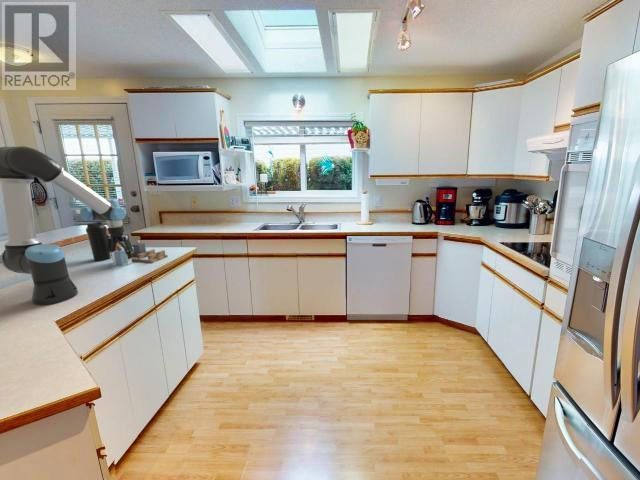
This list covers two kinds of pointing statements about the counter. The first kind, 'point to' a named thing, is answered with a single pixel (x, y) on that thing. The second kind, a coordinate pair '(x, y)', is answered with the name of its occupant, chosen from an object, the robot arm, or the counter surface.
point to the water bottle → (98, 241)
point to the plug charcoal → (139, 248)
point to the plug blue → (120, 256)
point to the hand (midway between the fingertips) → (122, 263)
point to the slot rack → (149, 256)
